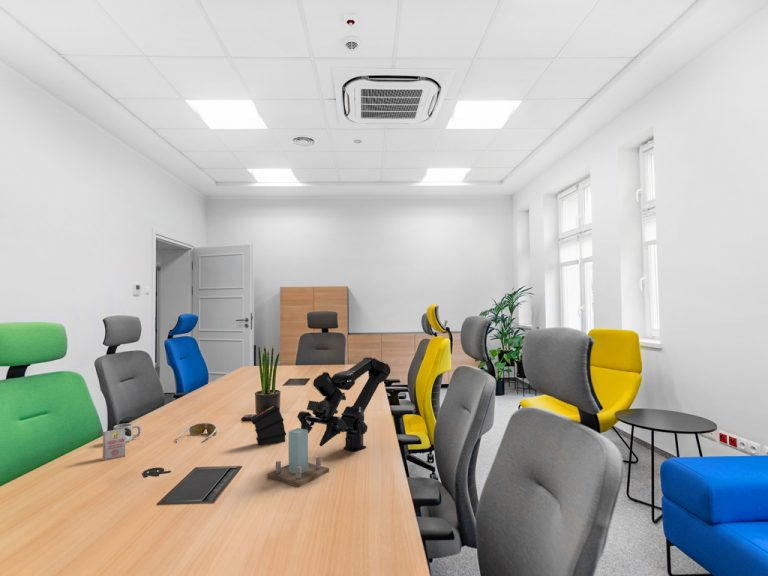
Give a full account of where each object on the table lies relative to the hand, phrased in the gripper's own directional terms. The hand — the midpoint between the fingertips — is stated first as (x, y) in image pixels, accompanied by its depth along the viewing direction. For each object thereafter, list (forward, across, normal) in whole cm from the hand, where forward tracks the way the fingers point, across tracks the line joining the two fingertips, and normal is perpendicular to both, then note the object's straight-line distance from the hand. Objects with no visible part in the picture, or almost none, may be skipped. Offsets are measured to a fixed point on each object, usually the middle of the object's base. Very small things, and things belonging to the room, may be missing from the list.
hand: (310, 443), depth 144 cm
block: (+9, 0, +1) cm, 9 cm away
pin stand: (+10, 0, +2) cm, 10 cm away
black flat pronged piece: (+26, -40, -14) cm, 50 cm away
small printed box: (+26, -72, -14) cm, 78 cm away
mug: (+17, -89, -5) cm, 91 cm away
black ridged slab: (-3, -34, +15) cm, 38 cm away
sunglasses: (+5, -66, +8) cm, 67 cm away
